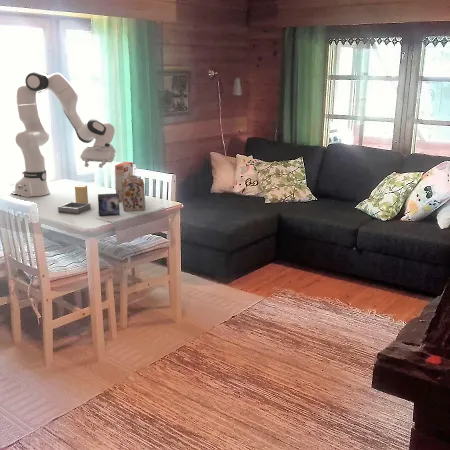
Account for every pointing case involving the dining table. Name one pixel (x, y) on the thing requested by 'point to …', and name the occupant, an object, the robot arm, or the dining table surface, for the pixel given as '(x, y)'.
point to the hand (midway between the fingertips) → (93, 166)
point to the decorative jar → (133, 194)
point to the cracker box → (122, 175)
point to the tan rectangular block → (81, 194)
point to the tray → (74, 208)
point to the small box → (108, 204)
